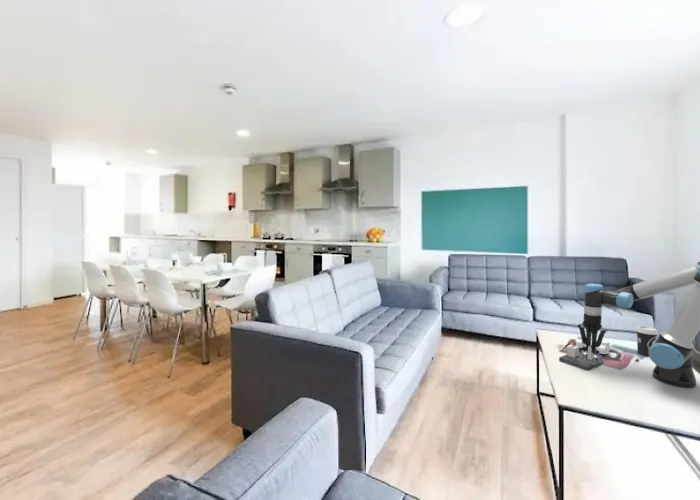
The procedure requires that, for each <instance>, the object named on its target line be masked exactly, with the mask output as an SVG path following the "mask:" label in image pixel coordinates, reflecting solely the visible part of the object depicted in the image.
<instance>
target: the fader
mask: <svg viewBox="0 0 700 500" xmlns="http://www.w3.org/2000/svg"><path fill="white" fill-rule="evenodd" d="M579 353H580V348H579V347H577V346H576V344H574V345H573V344H570V345H567V346H566V355H568V356H571V357H574V358H575V357H577V356H578V354H579Z"/></svg>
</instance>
